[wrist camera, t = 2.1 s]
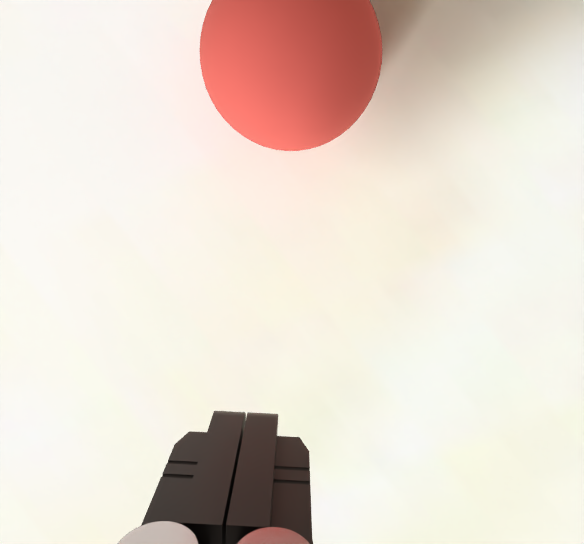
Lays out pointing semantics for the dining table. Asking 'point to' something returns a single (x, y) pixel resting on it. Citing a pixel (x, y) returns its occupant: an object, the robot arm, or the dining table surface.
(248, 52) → the ball
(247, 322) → the dining table surface
